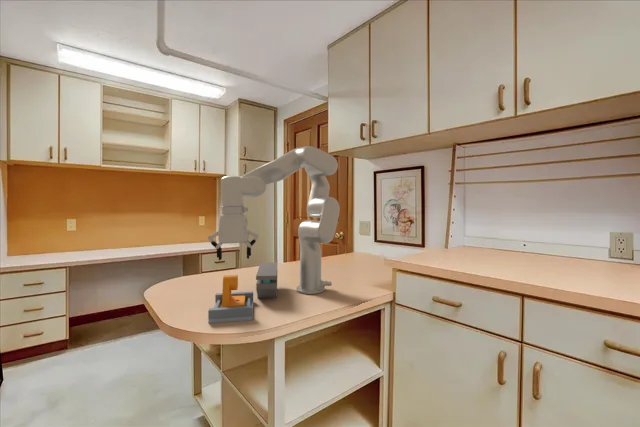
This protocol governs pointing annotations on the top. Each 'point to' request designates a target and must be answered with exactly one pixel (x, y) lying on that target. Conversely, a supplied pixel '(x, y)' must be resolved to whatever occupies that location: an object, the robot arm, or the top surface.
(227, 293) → the bracket
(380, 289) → the top surface
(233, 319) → the grey tray
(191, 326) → the top surface
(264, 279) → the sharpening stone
